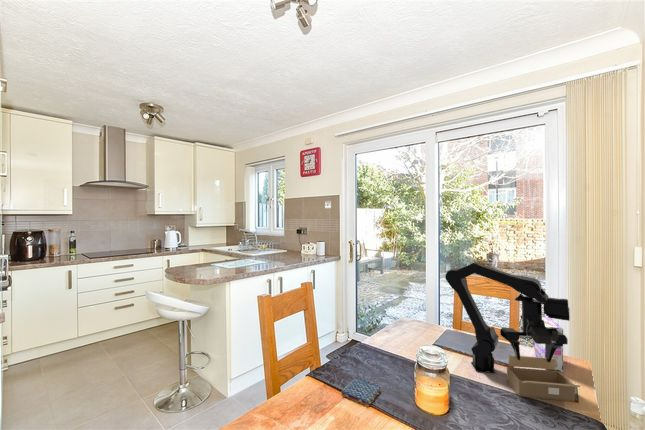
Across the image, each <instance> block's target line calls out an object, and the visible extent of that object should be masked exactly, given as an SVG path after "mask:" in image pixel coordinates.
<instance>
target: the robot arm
mask: <svg viewBox="0 0 645 430" xmlns="http://www.w3.org/2000/svg"><path fill="white" fill-rule="evenodd" d="M474 274H475V275H479V276H481V277H483V278H487V279H489V280H493V281H495V282H498V283H500V284H503V285H505V286H508V287H509V288H512V289H513V290H515V291H516V292H517V293H519V295H518V296H516V297H515V298H514V301H517V302H521V315H520V319H521V322H522V324H521V325H522V326H521V327H520V331H517V330H516V329H515V328H513V327H501V329H500V332H499V333H500V336H501V337H502V338H504V340H506V341H508V342H509V344H510V345H511V347H512V348H511V349H512V350H513V352H514V354H515V355H516V357H517V359H518V360H520V356H521V352H520V344H521V342H520V341H519V340H520V338H521V339H532V340H533V342H534V344H535V343H537V344H545V349H546V359H547V362H549V363H550V361H551V359H552V357H553V354H554V352H555V350H556V349H557V348H558V347H560V346H563V347H564V345H568V343H569V342H568V341H569V340H568V337H567V336H566V335H565V334H564V333H563V334H562V333H560V332H558V331H557V329H555V328H546V327H545V323H544V320H542V317H543V314H544V315H545V317H548V318H551V319H553V320H554V319H555V320H561V321H568V322H570V320H571V319H570V318H571V315H570V306H569V299H567V298H555V297H549V295H548V294H547V293H546V291H544V289H543V288H542V284H541V282H540V281H539V280H538V279H536V278H534V277H529V276H524V275H516V274H511V273H508V272H505V271H503V270H499V269H496V268H494V267H491V266H488V265H485V264H482V263H480V262H478V261H477V262H476V261H474V262H471V263H470V264H468V265H466V266H463V267H461V268H459V267H454V268H453V269H450V270H448V271H447V272H446V273H445V280H446V282H447V283H448V286H450V288H452V289H453V291H455V292H456V294H457V296H458V298H459V300H460V302H461V304H462V306H463V308H464V309H465V312H466V314H467V316H468V318H469V320H470V322H471V324H472V327H474V328H473V329H474V334H475V339H476V342H475V343H474V344H473V345H472V347H471V351H472V361H470V364H471V365H472V367H473V369H474V370H475V371H476V372H480V373H491V374H492V373H493V374H494V373H495V372H496V371H495V358H494V355H493V352H494V351H495V350H496V348H497V347H498V345H499V337H500V336H499V334H497V333H496V329H495V327H494V326H491V327H490V326H489V325H488V324H487V323H486V321H485V319H484V317H483V316H482V313H481V312H480V310H479V307H478V306H477V304H476V302H475V299H474V297H473V295H472V294H471V292H470V290H469V287H468V286H469V285H468V280H467V277H469V276H472V275H474ZM542 305H543V306H542ZM542 307H543V309H542ZM542 310H543V311H542Z"/></svg>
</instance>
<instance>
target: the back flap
mask: <svg viewBox="0 0 645 430" xmlns="http://www.w3.org/2000/svg"><path fill="white" fill-rule="evenodd" d="M508 355H509V356H508V367H514V368H526V369H538V370H548V369H552V370H551V371H554V370H555V360H556V359H555V358H552V359H551V361H550V363H549V362H547V359H546V358H543V357H536V356H528V355H520V360H518V359H517V357H516V355H514V354H508Z"/></svg>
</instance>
